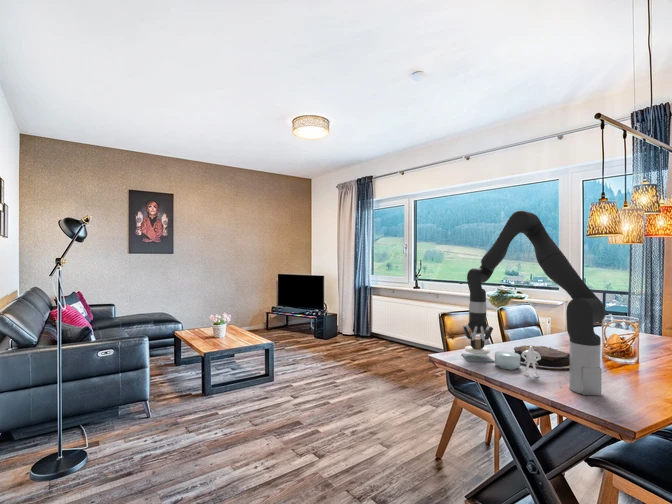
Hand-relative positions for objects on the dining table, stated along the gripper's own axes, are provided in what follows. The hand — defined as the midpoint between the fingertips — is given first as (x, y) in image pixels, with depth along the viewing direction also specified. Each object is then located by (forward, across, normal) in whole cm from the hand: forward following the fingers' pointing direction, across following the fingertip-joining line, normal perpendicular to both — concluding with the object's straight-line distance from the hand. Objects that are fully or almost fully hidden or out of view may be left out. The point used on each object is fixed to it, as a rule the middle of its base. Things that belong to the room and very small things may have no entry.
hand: (477, 347), depth 173 cm
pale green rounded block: (+5, +9, -12) cm, 16 cm away
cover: (+1, 0, 0) cm, 1 cm away
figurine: (+5, +14, -23) cm, 27 cm away
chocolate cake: (+5, +28, -1) cm, 29 cm away
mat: (+5, 0, 0) cm, 5 cm away
